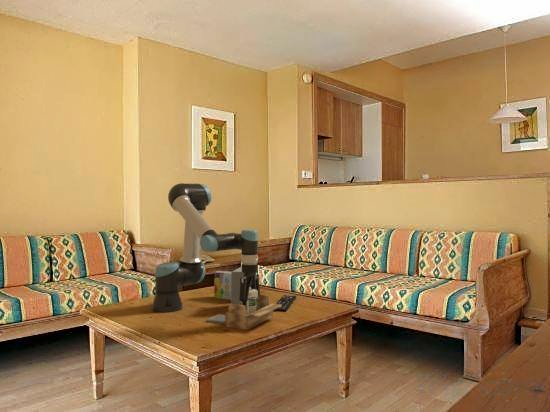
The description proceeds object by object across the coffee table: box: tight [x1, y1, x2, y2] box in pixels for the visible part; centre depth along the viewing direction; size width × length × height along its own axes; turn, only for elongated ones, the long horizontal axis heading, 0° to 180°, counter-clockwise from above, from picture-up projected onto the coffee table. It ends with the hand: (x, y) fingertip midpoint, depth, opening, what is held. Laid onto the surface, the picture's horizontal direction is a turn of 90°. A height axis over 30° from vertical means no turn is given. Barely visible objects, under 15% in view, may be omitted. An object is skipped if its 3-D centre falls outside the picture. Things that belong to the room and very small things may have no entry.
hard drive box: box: [230, 266, 251, 305], centre depth 226 cm, size 16×8×20 cm, turn 168°
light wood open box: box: [224, 293, 282, 331], centre depth 200 cm, size 17×24×10 cm
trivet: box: [205, 313, 225, 325], centre depth 203 cm, size 10×10×1 cm
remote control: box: [273, 294, 297, 313], centre depth 234 cm, size 8×32×2 cm, turn 168°
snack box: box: [213, 270, 232, 301], centre depth 247 cm, size 21×6×15 cm, turn 59°
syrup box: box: [247, 289, 258, 314], centre depth 201 cm, size 6×6×14 cm
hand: (250, 313), depth 201 cm, fingers closed on syrup box, 8 cm apart
